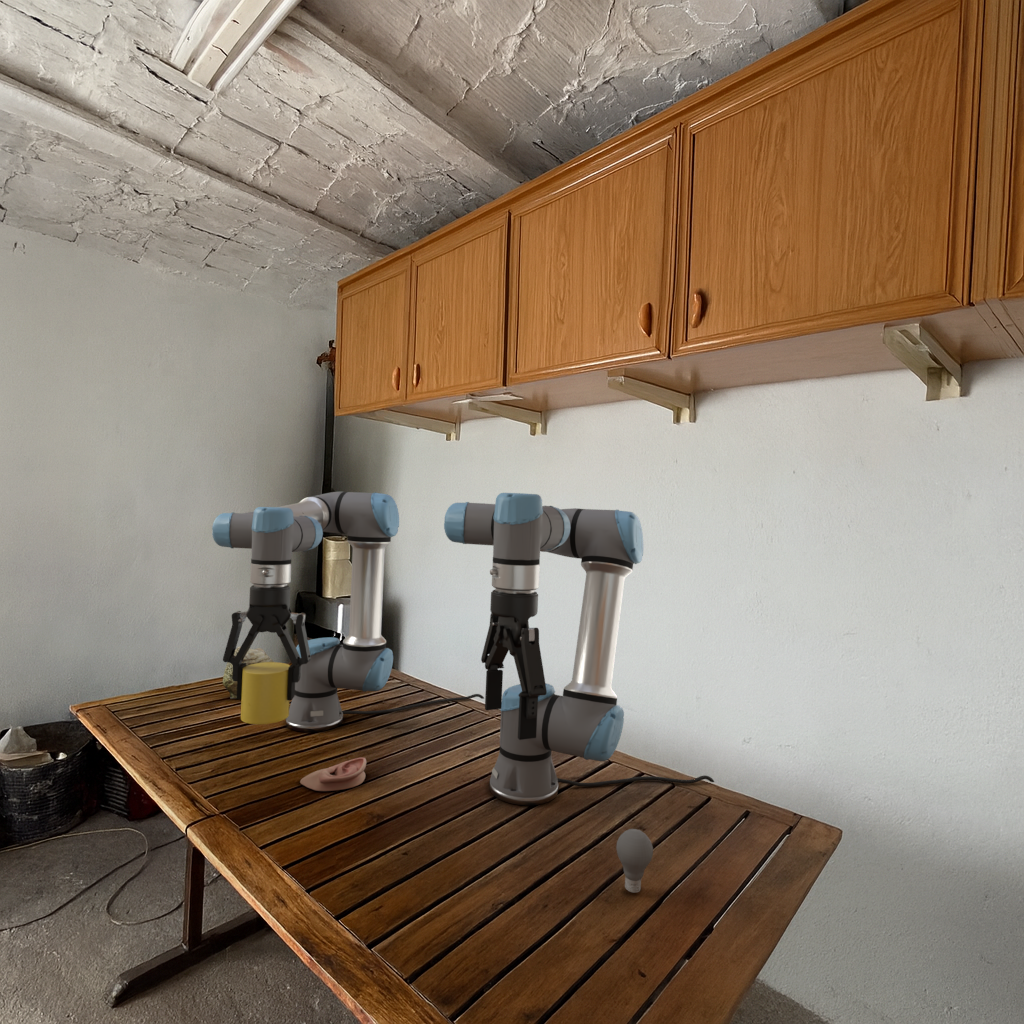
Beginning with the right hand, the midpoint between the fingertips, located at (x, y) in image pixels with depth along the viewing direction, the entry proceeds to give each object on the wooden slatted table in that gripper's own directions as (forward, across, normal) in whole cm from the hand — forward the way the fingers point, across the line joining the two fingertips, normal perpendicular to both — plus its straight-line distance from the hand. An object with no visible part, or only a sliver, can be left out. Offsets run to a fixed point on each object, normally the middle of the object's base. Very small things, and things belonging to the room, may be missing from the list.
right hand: (508, 722), depth 101 cm
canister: (+10, -42, -34) cm, 55 cm away
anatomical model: (+29, -52, -19) cm, 62 cm away
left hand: (+6, -42, -34) cm, 55 cm away
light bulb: (+29, +5, +22) cm, 36 cm away
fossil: (+29, -120, -34) cm, 128 cm away
